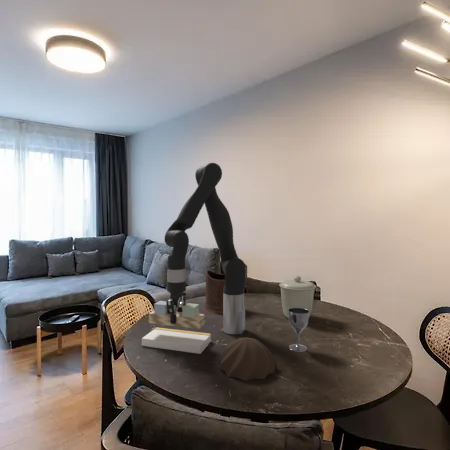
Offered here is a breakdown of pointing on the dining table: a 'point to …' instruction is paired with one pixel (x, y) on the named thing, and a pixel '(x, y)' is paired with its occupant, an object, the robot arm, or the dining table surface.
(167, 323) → the pallet
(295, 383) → the dining table surface
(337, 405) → the dining table surface
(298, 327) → the wine glass
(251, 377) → the decorative dome
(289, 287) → the canister
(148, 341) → the dock
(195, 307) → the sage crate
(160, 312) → the block
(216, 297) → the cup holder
